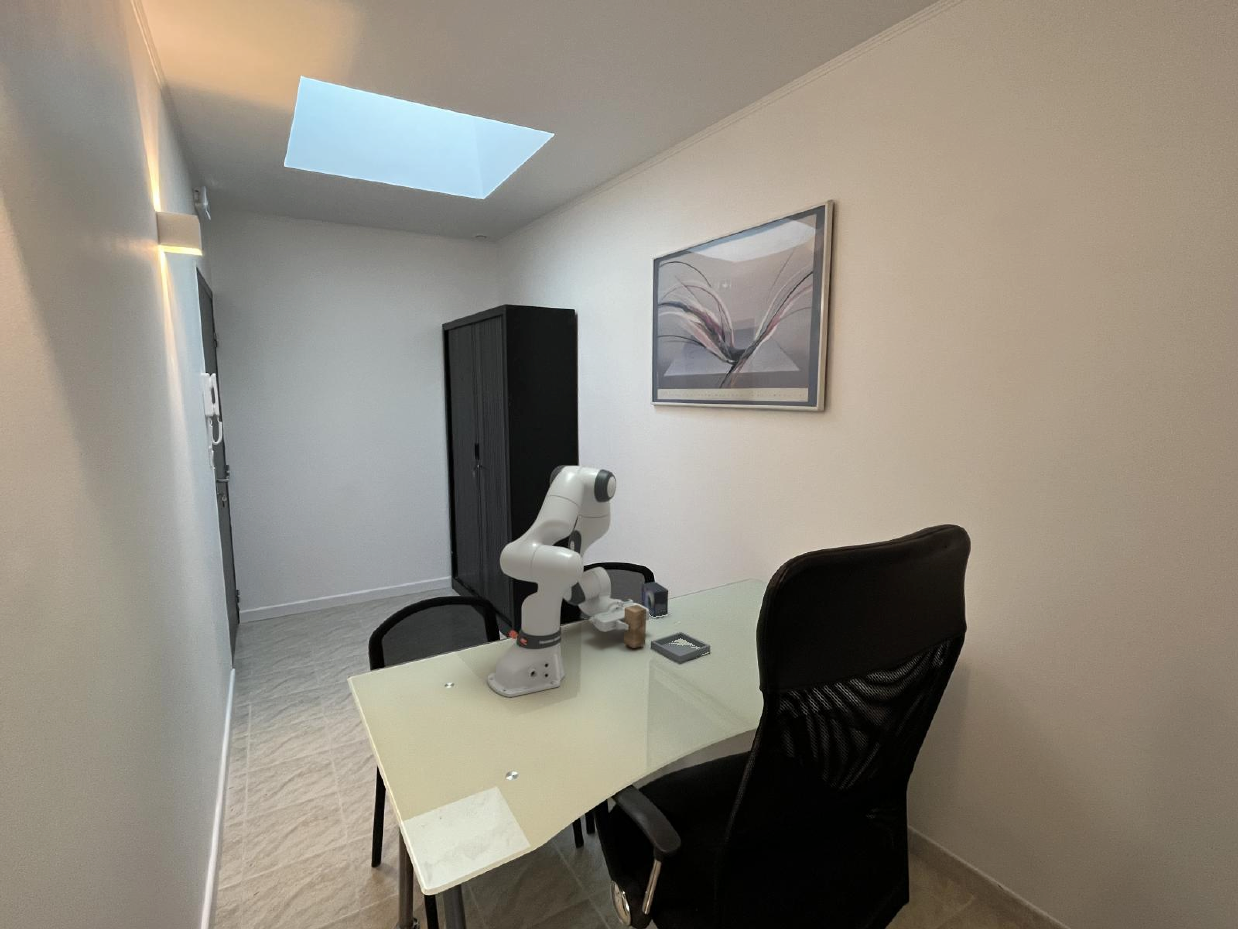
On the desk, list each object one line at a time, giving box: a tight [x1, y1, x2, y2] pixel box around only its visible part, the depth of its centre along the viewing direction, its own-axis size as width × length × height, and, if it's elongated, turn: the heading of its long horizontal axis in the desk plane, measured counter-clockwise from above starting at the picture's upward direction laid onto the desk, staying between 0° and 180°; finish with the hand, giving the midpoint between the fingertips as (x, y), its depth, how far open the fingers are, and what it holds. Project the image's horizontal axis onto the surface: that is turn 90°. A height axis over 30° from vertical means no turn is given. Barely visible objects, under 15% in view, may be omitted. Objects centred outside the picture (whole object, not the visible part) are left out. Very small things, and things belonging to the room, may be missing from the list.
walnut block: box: [623, 605, 647, 649], centre depth 195 cm, size 5×5×12 cm
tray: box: [650, 631, 711, 665], centre depth 193 cm, size 14×14×2 cm
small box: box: [641, 581, 669, 617], centre depth 225 cm, size 11×6×10 cm, turn 25°
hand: (636, 625), depth 194 cm, fingers closed on walnut block, 5 cm apart
